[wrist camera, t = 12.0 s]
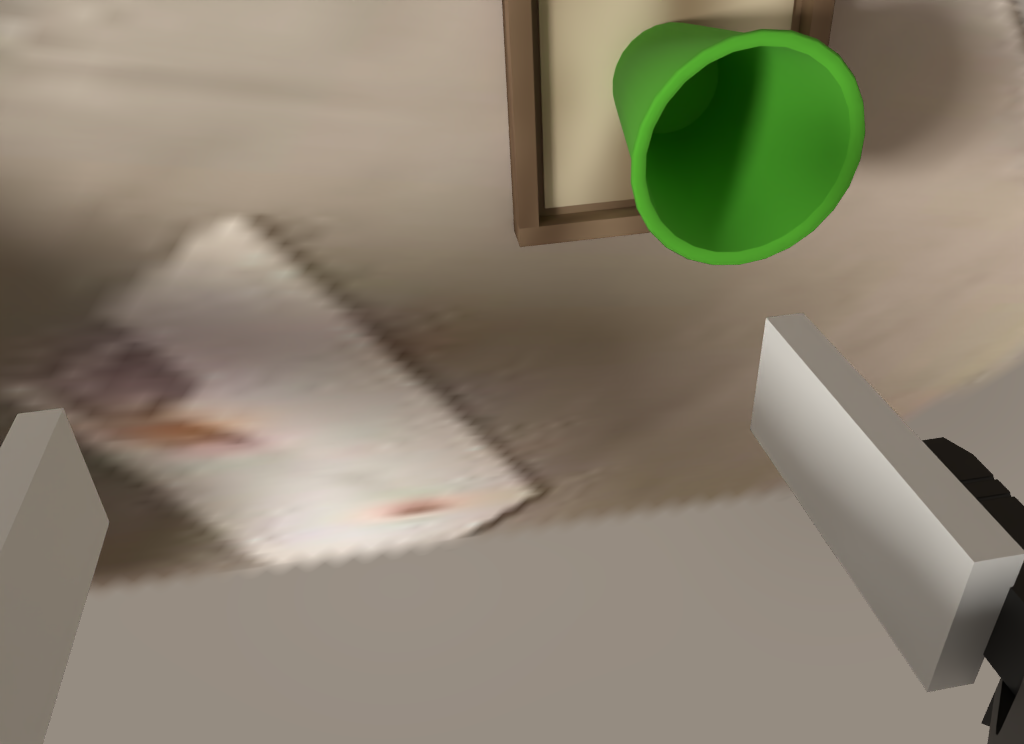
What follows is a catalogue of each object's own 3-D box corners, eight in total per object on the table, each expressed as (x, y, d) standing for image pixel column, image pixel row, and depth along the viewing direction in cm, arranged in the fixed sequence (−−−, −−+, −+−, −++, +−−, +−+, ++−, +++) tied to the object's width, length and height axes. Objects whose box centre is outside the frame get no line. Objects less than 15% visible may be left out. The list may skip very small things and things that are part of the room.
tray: (514, 230, 46) (520, 246, 44) (497, -91, 37) (503, -85, 36) (787, 200, 47) (802, 215, 45) (830, -116, 39) (851, -112, 37)
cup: (787, 89, 43) (904, 169, 33) (635, 204, 45) (707, 308, 36) (696, -71, 38) (803, -28, 29) (532, 66, 40) (584, 146, 31)
